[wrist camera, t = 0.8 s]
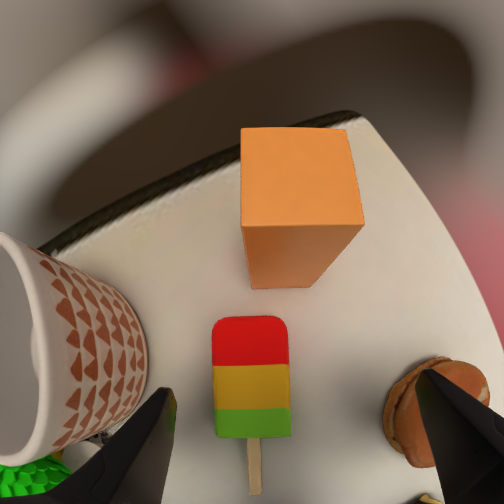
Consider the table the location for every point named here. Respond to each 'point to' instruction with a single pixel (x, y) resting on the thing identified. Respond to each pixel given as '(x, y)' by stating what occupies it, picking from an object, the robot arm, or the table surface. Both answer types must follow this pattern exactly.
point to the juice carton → (296, 203)
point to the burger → (408, 414)
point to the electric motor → (81, 452)
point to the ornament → (32, 477)
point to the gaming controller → (427, 500)
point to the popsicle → (251, 384)
